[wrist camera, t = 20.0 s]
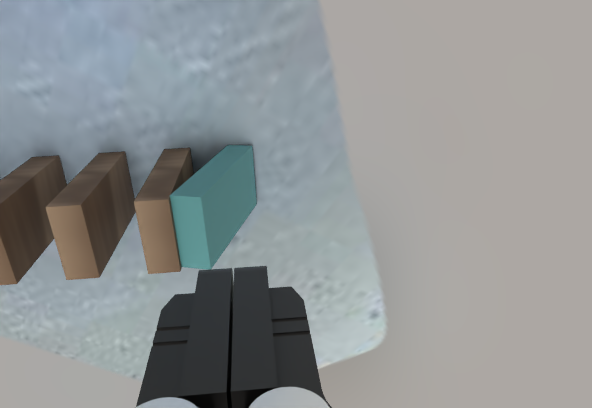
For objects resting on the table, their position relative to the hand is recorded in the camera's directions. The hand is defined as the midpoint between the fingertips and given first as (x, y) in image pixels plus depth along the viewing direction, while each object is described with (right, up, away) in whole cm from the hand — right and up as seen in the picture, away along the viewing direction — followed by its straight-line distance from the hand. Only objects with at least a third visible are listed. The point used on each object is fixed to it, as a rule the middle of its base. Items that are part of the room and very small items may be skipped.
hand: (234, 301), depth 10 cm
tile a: (-8, +4, +26) cm, 28 cm away
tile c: (-18, +4, +26) cm, 31 cm away
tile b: (-13, +4, +26) cm, 29 cm away
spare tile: (-3, +5, +26) cm, 27 cm away
